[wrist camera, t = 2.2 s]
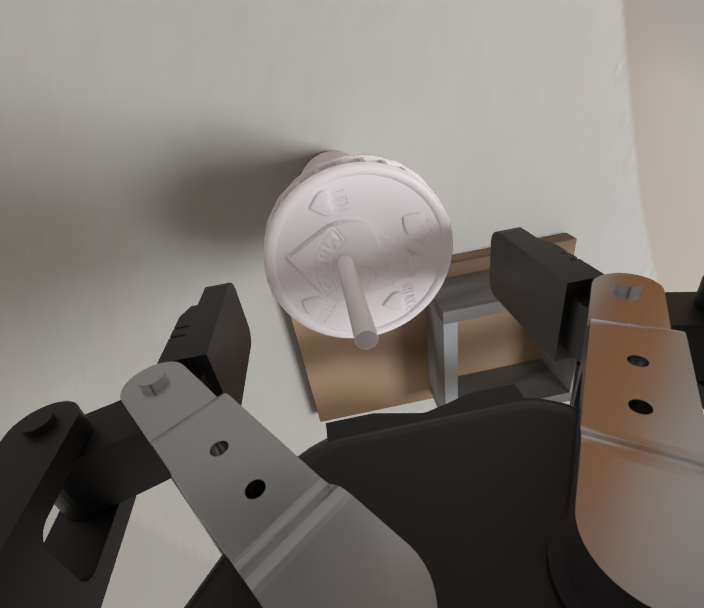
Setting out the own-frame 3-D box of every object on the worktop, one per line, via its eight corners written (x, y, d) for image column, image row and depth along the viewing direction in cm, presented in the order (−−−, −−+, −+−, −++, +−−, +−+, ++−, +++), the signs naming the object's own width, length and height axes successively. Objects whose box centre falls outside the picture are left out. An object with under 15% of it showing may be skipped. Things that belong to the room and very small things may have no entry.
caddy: (285, 288, 24) (284, 330, 20) (566, 232, 24) (618, 263, 20) (319, 411, 29) (324, 462, 26) (545, 364, 30) (582, 406, 26)
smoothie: (275, 113, 19) (249, 187, 7) (402, 131, 20) (568, 220, 8) (271, 237, 22) (248, 437, 10) (380, 246, 23) (476, 433, 11)
